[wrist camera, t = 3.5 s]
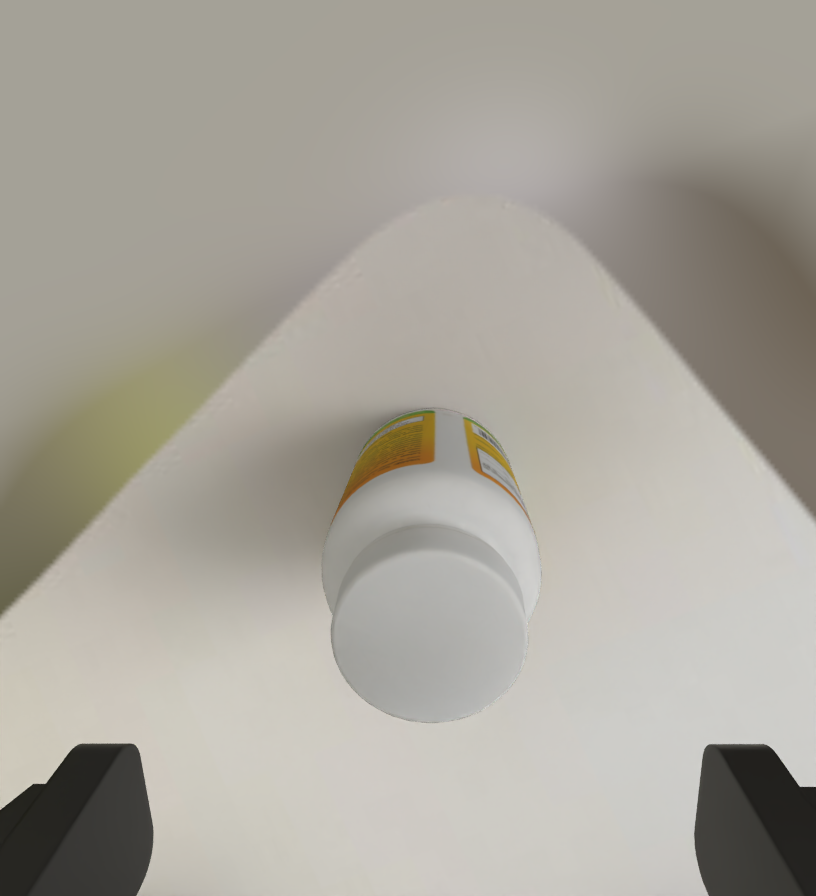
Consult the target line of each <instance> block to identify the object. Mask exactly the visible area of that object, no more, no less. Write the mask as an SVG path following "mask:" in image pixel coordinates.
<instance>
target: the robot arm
mask: <svg viewBox="0 0 816 896" xmlns="http://www.w3.org/2000/svg"><path fill="white" fill-rule="evenodd" d="M694 837H695V850H696V856H697V861H698V866H699V870H700V873H701V877H702V880H703V883H704V885H705V888H706V890H707V892H708V895H709V896H816V787H799V785H798V784H797V782H796V781H795V780H794V778H793V777H792V775H791V774H790V772H789V771H788V770H787V768H786V767H785V765H784V764H783V763H782V761H781V760H780V758H779V757H778V755H777V754H776V753H775V752H774V750H773V749H772V748H770V747H769V746H767V745H764V744H710V745H708V746H706V748H705V750H704V753H703V759H702V768H701V777H700V786H699V795H698V804H697V813H696V822H695V833H694ZM152 848H153V824H152V818H151V812H150V807H149V801H148V796H147V790H146V785H145V779H144V774H143V768H142V763H141V757H140V753H139V750H138V748H137V747H136V746H135V745H134V744H79V745H77V746H76V747H74V748H73V749H72V750H71V751H70V752H69V754H68V755H67V756H66V758H65V759H64V760H63V762H62V763H61V764H60V766H59V767H58V768H57V770H56V771H55V772H54V774H53V775H52V776H51V778H50V779H49V780H48V782H47V783H46V784H33V785H32V786H30V787H29V788H28V789H26V790H25V791H24V792H23V793H21V794H20V795H19V796H18V797H16V798H15V799H14V800H13V801H11V802H10V803H9V804H7V805H6V806H5V807H4V808H2V809H1V810H0V896H136V895H137V893H138V891H139V889H140V887H141V885H142V883H143V880H144V878H145V876H146V873H147V870H148V866H149V863H150V859H151V854H152Z"/></svg>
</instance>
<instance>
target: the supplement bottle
mask: <svg viewBox="0 0 816 896" xmlns="http://www.w3.org/2000/svg"><path fill="white" fill-rule="evenodd" d="M541 575H542V570H541V559H540V553H539V548H538V543H537V539H536V535H535V532H534V529H533V527H532V524H531V521H530V519H529V516H528V513H527V510H526V507H525V504H524V502H523V499H522V496H521V493H520V490H519V488H518V485H517V482H516V479H515V476H514V474H513V471H512V468H511V465H510V463H509V460H508V458H507V456H506V454H505V452H504V450H503V448H502V447H501V445H500V443H499V442H498V441H497V439H496V438H495V437H494V436H493V434H492V433H491V432H490V431H489V430H487V429H486V428H485V427H484V426H483V425H481V424H480V423H479V422H477V421H476V420H474V419H472V418H470V417H468V416H466V415H464V414H461V413H458V412H455V411H451V410H447V409H436V408H430V409H421V410H415V411H411V412H408V413H405V414H402V415H400V416H397V417H395V418H393V419H392V420H390V421H388V422H387V423H385V424H384V425H383V426H381V427H380V428H379V429H378V430H377V431H376V432H375V433H374V434H373V435H372V436H371V437H370V439H369V440H368V441H367V443H366V444H365V446H364V447H363V449H362V451H361V453H360V455H359V457H358V459H357V462H356V464H355V466H354V469H353V472H352V474H351V476H350V479H349V481H348V484H347V486H346V489H345V491H344V494H343V496H342V498H341V501H340V503H339V506H338V508H337V511H336V513H335V515H334V518H333V520H332V522H331V525H330V528H329V531H328V533H327V537H326V541H325V545H324V550H323V554H322V581H323V588H324V592H325V596H326V599H327V602H328V605H329V608H330V611H331V613H332V615H333V617H332V624H331V643H332V649H333V654H334V657H335V660H336V663H337V665H338V667H339V670H340V672H341V673H342V675H343V677H344V678H345V680H346V681H347V683H348V684H349V685H350V686H351V688H352V689H353V690H354V691H355V692H356V693H357V694H358V695H359V696H360V697H361V698H363V699H364V700H365V701H366V702H368V703H369V704H370V705H372V706H374V707H375V708H377V709H379V710H381V711H383V712H385V713H387V714H389V715H391V716H394V717H398V718H401V719H404V720H408V721H415V722H423V723H439V722H448V721H454V720H458V719H462V718H465V717H468V716H471V715H473V714H476V713H478V712H480V711H482V710H484V709H485V708H487V707H489V706H490V705H492V704H493V703H494V702H496V701H497V700H498V699H499V698H500V697H501V696H502V695H504V694H505V693H506V692H507V690H508V689H509V688H510V687H511V686H512V684H513V683H514V681H515V680H516V678H517V677H518V675H519V673H520V671H521V669H522V667H523V664H524V661H525V657H526V654H527V648H528V624H527V623H528V622H529V620H530V618H531V616H532V614H533V612H534V609H535V607H536V604H537V601H538V597H539V593H540V587H541Z"/></svg>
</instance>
